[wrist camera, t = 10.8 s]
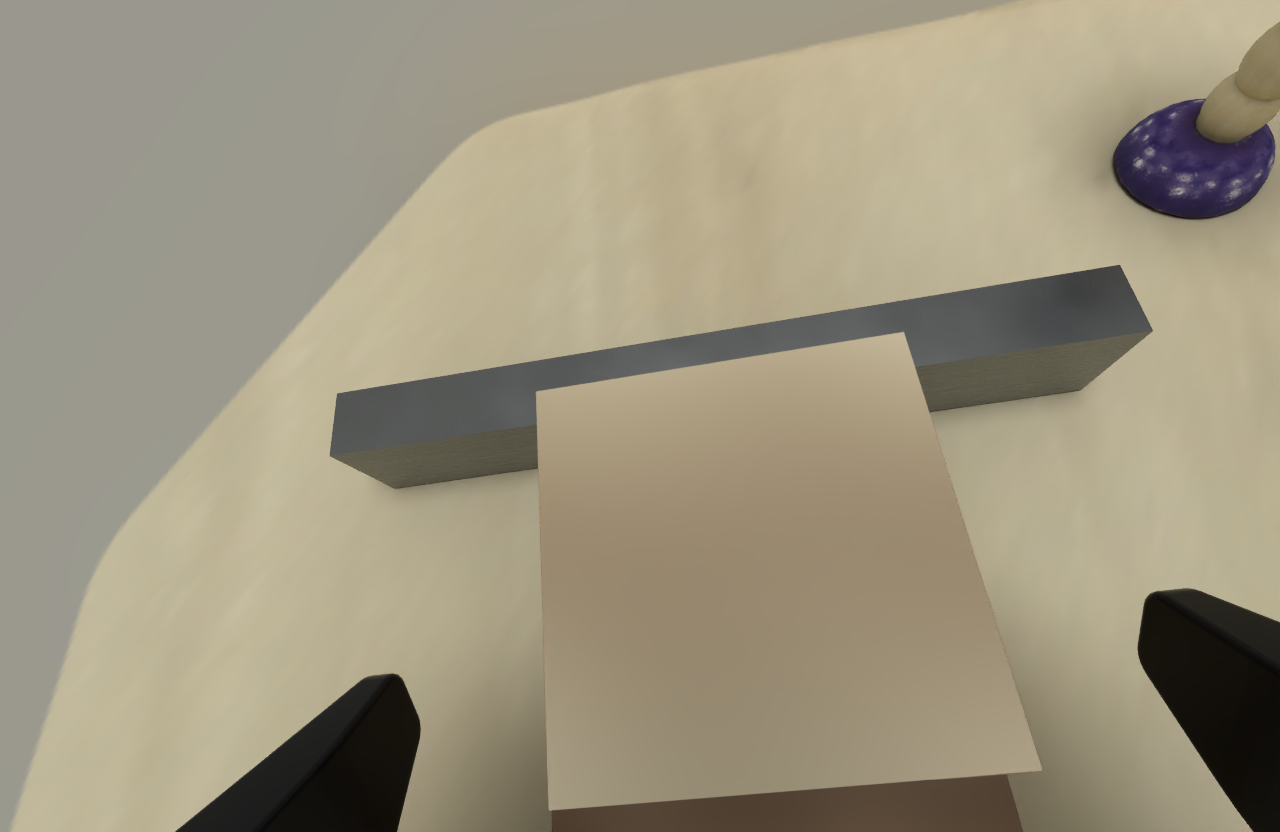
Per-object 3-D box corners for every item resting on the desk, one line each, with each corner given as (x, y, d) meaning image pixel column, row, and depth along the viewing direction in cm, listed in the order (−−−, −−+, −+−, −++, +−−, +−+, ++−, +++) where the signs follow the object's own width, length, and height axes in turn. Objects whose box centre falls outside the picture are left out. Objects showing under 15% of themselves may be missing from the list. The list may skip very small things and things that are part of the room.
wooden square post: (823, 692, 16) (1042, 771, 4) (690, 705, 16) (547, 810, 5) (797, 557, 17) (904, 332, 6) (675, 572, 18) (535, 392, 6)
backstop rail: (1080, 390, 18) (1152, 330, 15) (394, 488, 20) (330, 455, 17) (1056, 332, 19) (1119, 264, 16) (398, 434, 21) (337, 393, 18)
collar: (986, 828, 14) (1031, 859, 12) (582, 855, 16) (554, 888, 13) (881, 441, 18) (900, 410, 16) (565, 486, 19) (541, 462, 17)
